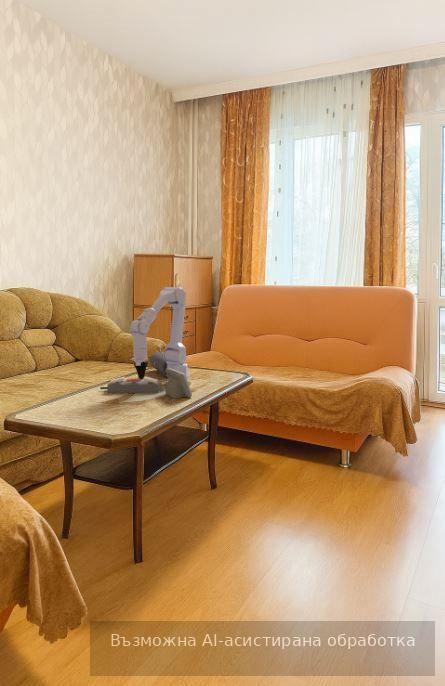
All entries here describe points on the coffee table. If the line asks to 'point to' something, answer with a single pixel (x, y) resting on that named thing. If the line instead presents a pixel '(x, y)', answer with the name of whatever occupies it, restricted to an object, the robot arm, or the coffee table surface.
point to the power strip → (133, 387)
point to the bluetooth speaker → (159, 363)
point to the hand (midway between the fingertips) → (141, 379)
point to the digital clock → (177, 384)
